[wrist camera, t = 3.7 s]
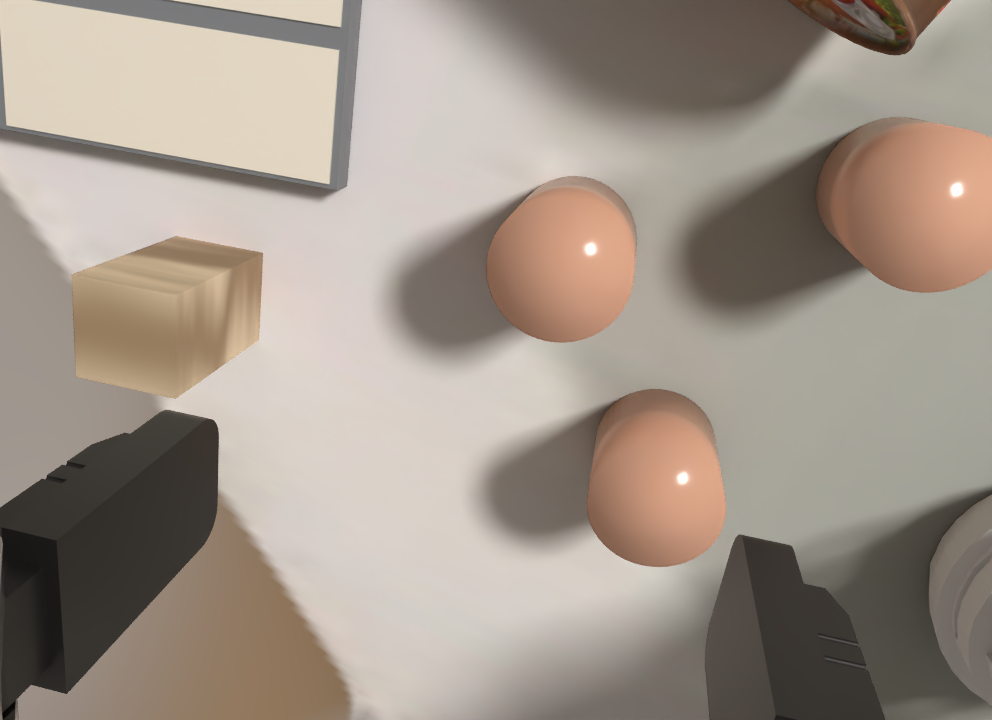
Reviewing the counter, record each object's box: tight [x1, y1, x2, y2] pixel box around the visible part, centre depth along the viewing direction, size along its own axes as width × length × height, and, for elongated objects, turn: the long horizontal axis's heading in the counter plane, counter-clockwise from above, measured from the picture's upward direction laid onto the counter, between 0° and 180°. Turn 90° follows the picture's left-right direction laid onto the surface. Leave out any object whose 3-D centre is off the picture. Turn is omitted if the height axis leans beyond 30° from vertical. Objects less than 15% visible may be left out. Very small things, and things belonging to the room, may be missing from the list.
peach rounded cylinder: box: [816, 117, 992, 292], centre depth 28 cm, size 5×5×6 cm
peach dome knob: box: [486, 176, 637, 342], centre depth 30 cm, size 5×5×6 cm
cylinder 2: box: [587, 389, 726, 567], centre depth 33 cm, size 5×5×6 cm
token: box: [72, 236, 263, 399], centre depth 33 cm, size 4×4×7 cm
